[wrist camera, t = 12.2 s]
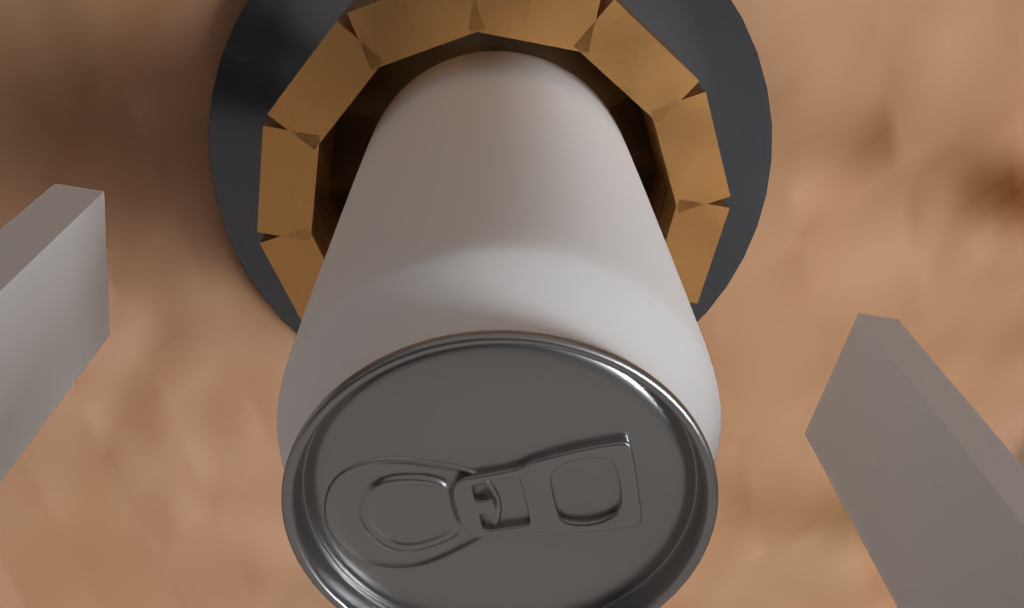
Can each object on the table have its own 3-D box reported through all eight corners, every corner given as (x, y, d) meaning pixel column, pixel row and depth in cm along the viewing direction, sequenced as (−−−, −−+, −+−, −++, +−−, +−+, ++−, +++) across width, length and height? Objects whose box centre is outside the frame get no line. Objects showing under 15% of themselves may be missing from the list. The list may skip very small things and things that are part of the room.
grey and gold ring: (212, 351, 25) (173, 423, 22) (229, -196, 18) (178, -202, 15) (674, 418, 26) (699, 494, 23) (842, -63, 20) (906, -44, 17)
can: (335, 73, 20) (165, 354, 10) (609, 20, 20) (740, 255, 9) (403, 307, 23) (330, 708, 13) (640, 267, 23) (764, 649, 12)
